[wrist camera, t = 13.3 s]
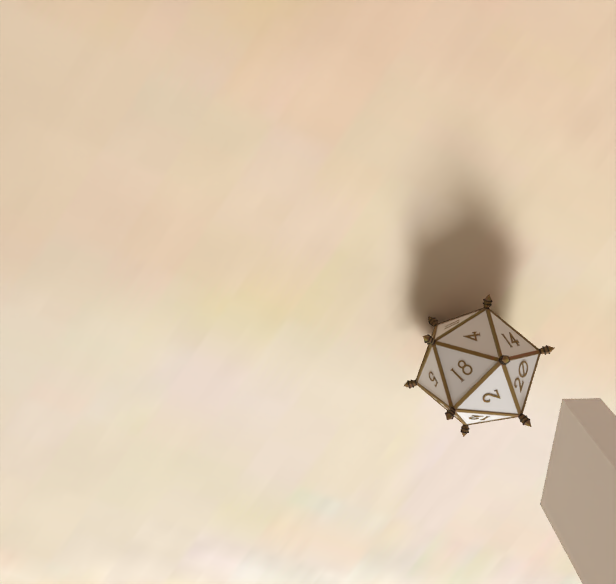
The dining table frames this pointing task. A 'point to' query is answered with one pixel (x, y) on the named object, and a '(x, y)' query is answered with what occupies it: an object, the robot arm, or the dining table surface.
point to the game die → (478, 368)
